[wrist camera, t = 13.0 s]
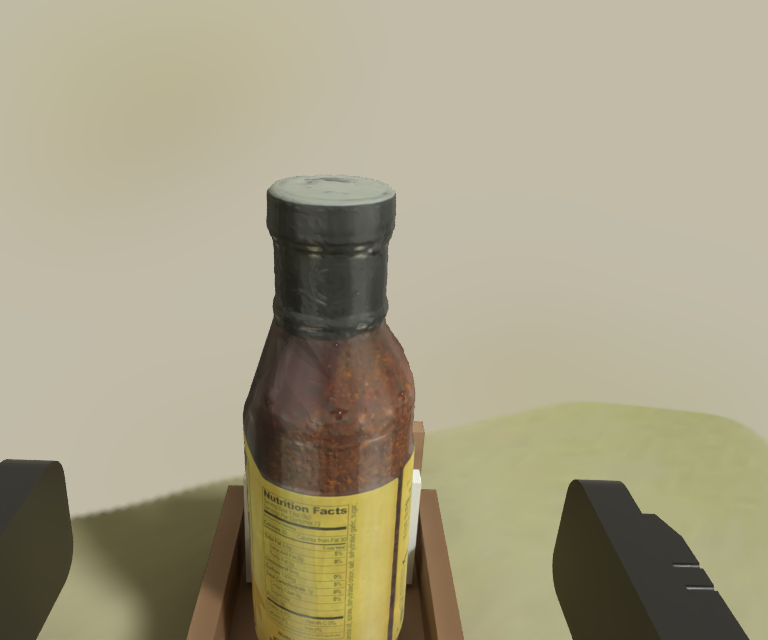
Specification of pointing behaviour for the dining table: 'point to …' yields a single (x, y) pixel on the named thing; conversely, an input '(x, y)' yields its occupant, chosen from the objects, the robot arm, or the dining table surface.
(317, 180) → the sauce bottle
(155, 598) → the dining table surface
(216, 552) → the wooden tray
